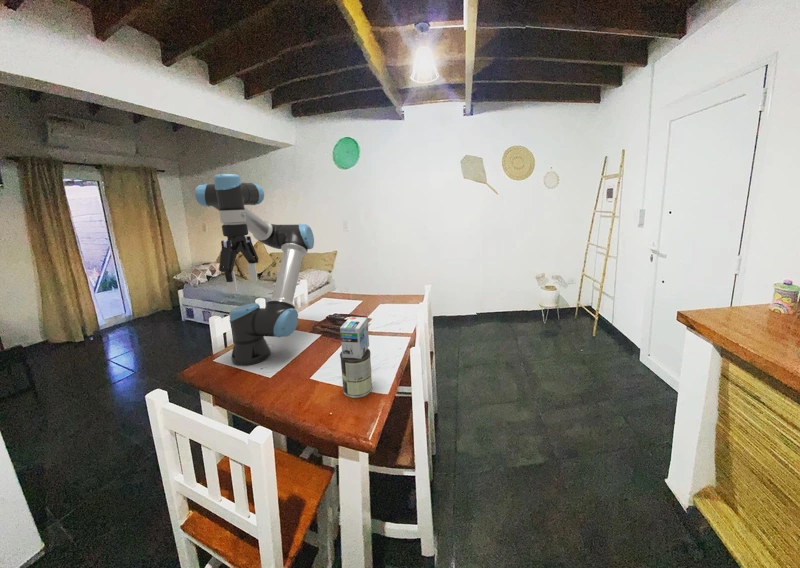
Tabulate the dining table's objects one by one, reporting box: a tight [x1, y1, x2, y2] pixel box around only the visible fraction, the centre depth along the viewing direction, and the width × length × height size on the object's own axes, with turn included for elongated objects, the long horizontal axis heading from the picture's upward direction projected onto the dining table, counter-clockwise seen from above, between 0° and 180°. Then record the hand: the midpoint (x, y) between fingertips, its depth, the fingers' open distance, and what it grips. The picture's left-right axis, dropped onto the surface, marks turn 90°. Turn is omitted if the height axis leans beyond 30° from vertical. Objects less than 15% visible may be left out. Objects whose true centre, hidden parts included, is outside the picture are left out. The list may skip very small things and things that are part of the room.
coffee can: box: [339, 347, 373, 399], centre depth 108 cm, size 10×10×14 cm
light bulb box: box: [339, 316, 370, 359], centre depth 106 cm, size 11×7×11 cm, turn 170°
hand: (244, 285), depth 109 cm, fingers open, 13 cm apart
